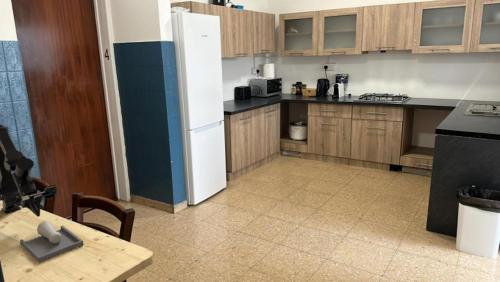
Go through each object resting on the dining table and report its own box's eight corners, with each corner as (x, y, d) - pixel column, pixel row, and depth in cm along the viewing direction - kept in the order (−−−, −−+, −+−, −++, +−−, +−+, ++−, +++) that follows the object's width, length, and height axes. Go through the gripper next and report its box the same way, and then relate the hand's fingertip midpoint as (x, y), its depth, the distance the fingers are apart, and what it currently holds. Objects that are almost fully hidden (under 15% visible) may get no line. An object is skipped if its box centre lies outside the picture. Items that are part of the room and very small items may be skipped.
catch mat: (20, 244, 139) (19, 239, 139) (63, 229, 150) (62, 225, 150) (39, 262, 127) (38, 258, 127) (83, 245, 138) (83, 240, 138)
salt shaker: (41, 217, 144) (55, 229, 136) (53, 222, 149) (68, 234, 141) (31, 230, 143) (45, 244, 135) (44, 235, 147) (58, 248, 139)
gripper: (45, 186, 159) (59, 217, 155) (-5, 199, 146) (9, 233, 141) (50, 173, 152) (65, 205, 148) (-2, 185, 139) (12, 220, 134)
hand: (38, 216), depth 143 cm, fingers closed
